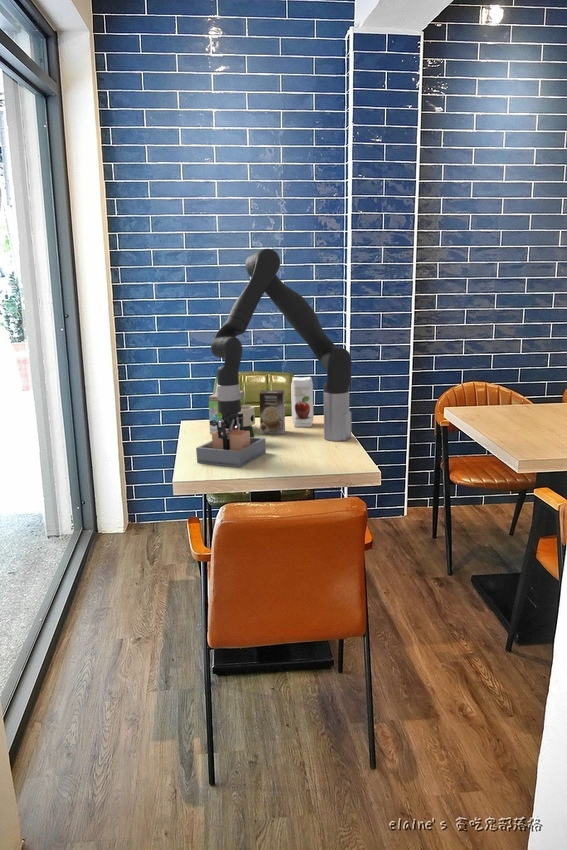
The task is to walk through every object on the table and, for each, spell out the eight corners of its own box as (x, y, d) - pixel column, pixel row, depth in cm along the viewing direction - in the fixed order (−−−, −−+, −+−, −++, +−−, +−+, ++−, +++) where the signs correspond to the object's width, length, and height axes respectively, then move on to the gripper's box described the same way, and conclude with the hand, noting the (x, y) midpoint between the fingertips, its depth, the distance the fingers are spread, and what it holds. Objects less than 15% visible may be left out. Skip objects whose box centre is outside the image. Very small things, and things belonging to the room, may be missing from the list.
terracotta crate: (250, 448, 217) (249, 431, 216) (241, 453, 212) (240, 435, 210) (222, 445, 222) (221, 428, 220) (212, 450, 216) (211, 432, 215)
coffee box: (259, 435, 246) (258, 393, 243) (262, 431, 252) (260, 390, 249) (284, 434, 245) (282, 392, 242) (285, 430, 252) (284, 389, 248)
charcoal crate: (265, 452, 222) (265, 438, 221) (240, 467, 206) (239, 452, 205) (224, 448, 229) (224, 434, 227) (197, 462, 213) (196, 447, 212)
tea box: (234, 435, 248) (232, 396, 244) (209, 434, 250) (207, 396, 247) (246, 426, 262) (244, 389, 258) (223, 425, 264) (220, 389, 261)
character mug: (254, 446, 231) (253, 410, 228) (234, 446, 231) (232, 410, 228) (256, 438, 241) (255, 404, 238) (237, 439, 242) (235, 404, 239)
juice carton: (292, 423, 264) (291, 376, 259) (314, 422, 263) (312, 376, 259) (291, 427, 256) (290, 379, 252) (313, 427, 256) (312, 379, 251)
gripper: (228, 402, 205) (230, 454, 209) (249, 394, 217) (251, 443, 221) (207, 401, 208) (210, 452, 212) (230, 393, 221) (232, 441, 224)
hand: (231, 447), depth 217 cm, fingers closed on terracotta crate, 6 cm apart
